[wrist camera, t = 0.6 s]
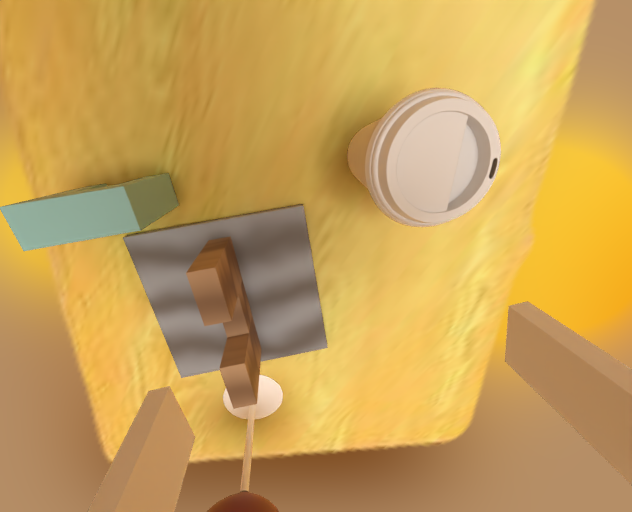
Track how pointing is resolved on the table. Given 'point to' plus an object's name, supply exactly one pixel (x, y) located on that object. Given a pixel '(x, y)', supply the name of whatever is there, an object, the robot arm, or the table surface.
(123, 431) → the table surface
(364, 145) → the coffee cup
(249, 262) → the joint base
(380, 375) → the table surface
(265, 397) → the wineglass
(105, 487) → the robot arm
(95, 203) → the green arch block
